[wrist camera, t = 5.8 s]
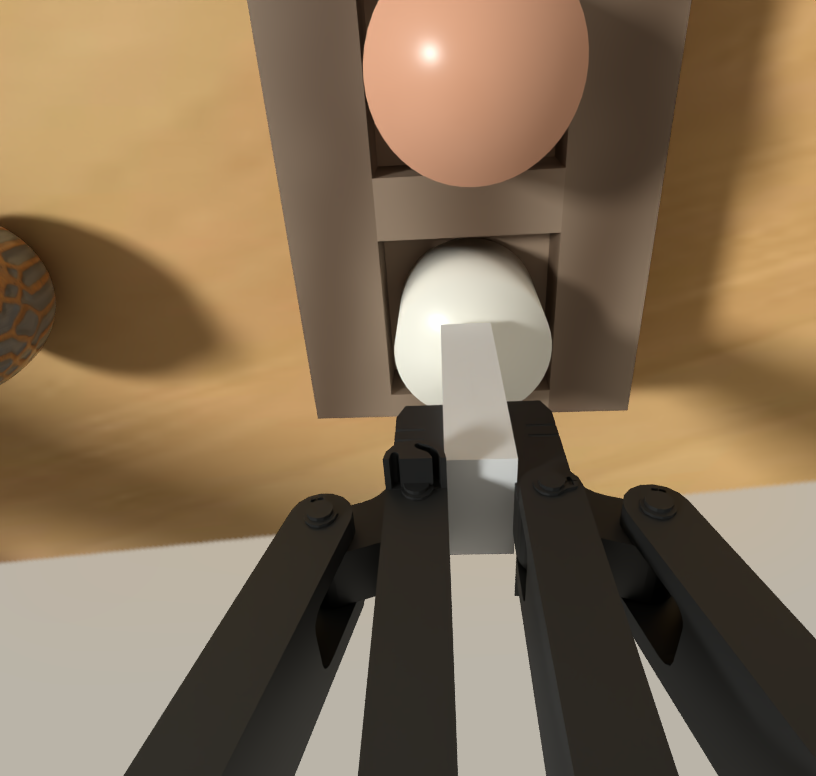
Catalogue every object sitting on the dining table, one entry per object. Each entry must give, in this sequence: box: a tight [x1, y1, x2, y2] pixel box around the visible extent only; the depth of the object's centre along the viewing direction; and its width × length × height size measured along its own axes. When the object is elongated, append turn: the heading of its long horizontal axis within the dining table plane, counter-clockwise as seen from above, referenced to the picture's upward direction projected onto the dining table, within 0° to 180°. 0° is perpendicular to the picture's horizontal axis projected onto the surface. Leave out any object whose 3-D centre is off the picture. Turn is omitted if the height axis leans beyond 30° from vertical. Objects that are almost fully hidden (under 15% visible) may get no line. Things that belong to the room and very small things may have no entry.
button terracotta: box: [363, 0, 589, 187], centre depth 15 cm, size 5×5×4 cm
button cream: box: [394, 238, 552, 405], centre depth 20 cm, size 5×5×4 cm
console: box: [247, 0, 691, 418], centre depth 19 cm, size 12×24×4 cm, turn 4°
